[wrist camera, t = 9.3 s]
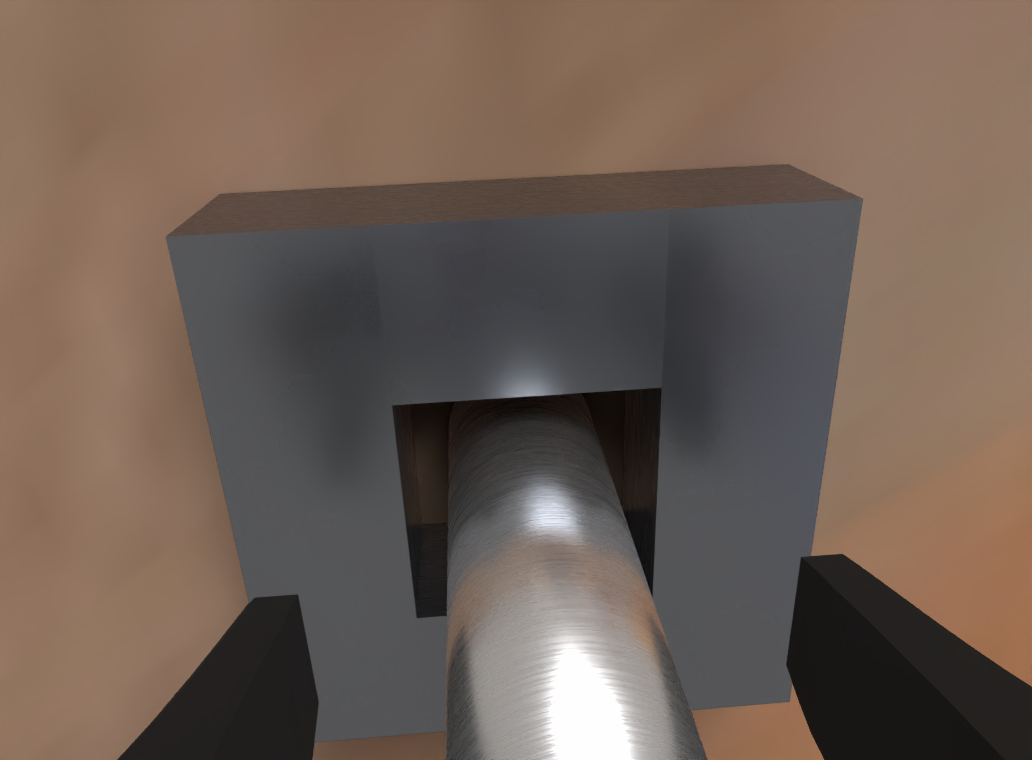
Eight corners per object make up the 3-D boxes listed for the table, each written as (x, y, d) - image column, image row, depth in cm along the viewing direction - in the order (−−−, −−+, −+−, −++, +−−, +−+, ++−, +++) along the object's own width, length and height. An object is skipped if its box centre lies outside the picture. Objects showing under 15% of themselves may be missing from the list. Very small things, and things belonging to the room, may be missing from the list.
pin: (589, 482, 18) (734, 981, 9) (453, 492, 17) (454, 1010, 8) (589, 358, 16) (760, 789, 7) (443, 367, 16) (431, 818, 7)
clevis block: (742, 604, 19) (789, 701, 17) (306, 639, 19) (281, 745, 16) (788, 164, 15) (863, 198, 12) (219, 193, 14) (166, 236, 12)
